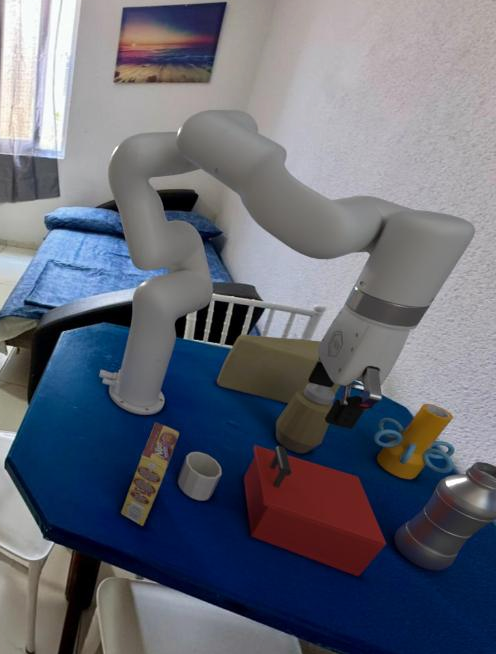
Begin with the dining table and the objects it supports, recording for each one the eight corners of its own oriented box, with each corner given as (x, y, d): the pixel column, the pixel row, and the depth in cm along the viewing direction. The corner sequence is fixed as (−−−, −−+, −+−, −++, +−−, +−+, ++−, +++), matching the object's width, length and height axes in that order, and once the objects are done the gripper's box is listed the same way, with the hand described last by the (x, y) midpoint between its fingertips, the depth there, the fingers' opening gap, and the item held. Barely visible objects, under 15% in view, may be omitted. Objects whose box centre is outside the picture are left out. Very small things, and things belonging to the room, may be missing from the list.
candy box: (145, 528, 69) (167, 467, 61) (120, 514, 71) (138, 454, 63) (158, 491, 75) (180, 431, 68) (135, 479, 77) (153, 420, 70)
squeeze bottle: (323, 461, 82) (365, 393, 74) (279, 454, 83) (316, 386, 75) (303, 432, 89) (340, 366, 80) (263, 425, 90) (295, 360, 82)
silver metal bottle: (378, 536, 69) (445, 454, 59) (414, 534, 69) (487, 452, 60) (416, 577, 63) (498, 494, 53) (455, 574, 64) (543, 491, 54)
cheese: (221, 396, 98) (241, 346, 91) (212, 372, 107) (230, 324, 100) (325, 416, 94) (355, 364, 86) (307, 389, 102) (334, 339, 95)
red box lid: (262, 504, 65) (275, 482, 62) (253, 448, 75) (263, 426, 72) (383, 547, 59) (403, 524, 56) (356, 479, 69) (371, 458, 67)
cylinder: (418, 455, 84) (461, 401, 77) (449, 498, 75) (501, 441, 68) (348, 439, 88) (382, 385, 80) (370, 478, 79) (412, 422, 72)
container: (177, 492, 75) (186, 471, 72) (178, 469, 80) (186, 447, 77) (212, 505, 73) (222, 483, 70) (211, 480, 77) (220, 458, 75)
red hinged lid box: (251, 536, 68) (268, 506, 64) (243, 478, 78) (258, 449, 74) (358, 576, 63) (383, 547, 59) (335, 508, 73) (356, 480, 69)
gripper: (331, 275, 62) (287, 365, 70) (373, 330, 48) (313, 434, 56) (392, 285, 60) (340, 377, 68) (456, 346, 46) (380, 453, 54)
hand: (328, 403), depth 62 cm, fingers open, 9 cm apart
